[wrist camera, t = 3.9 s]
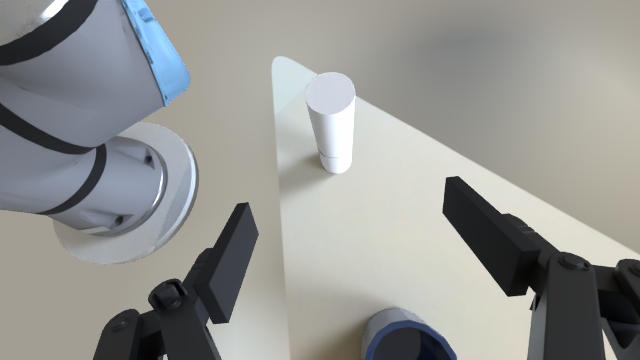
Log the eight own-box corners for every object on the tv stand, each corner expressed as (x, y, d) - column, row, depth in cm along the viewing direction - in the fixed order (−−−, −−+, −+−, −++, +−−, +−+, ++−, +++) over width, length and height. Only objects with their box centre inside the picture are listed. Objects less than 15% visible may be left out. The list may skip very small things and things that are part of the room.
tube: (355, 151, 35) (362, 79, 21) (344, 177, 34) (344, 120, 20) (328, 142, 36) (316, 66, 22) (316, 167, 35) (297, 106, 21)
